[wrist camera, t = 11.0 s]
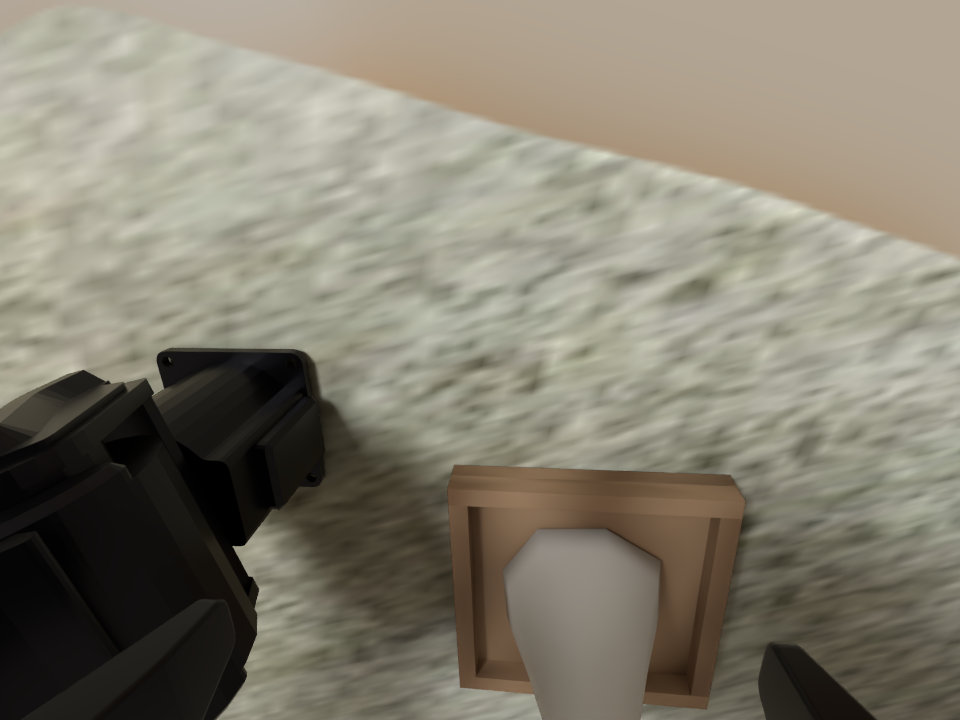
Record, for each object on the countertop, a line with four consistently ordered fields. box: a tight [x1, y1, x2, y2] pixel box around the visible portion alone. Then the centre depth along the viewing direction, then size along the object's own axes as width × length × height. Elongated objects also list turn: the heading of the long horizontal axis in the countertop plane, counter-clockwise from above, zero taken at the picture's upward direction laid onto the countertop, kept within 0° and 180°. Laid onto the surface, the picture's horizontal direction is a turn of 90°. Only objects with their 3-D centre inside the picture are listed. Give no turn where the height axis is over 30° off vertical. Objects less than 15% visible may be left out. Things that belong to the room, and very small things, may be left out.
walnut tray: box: [447, 465, 746, 709], centre depth 23 cm, size 12×12×2 cm
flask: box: [503, 529, 661, 720], centre depth 19 cm, size 7×7×10 cm
